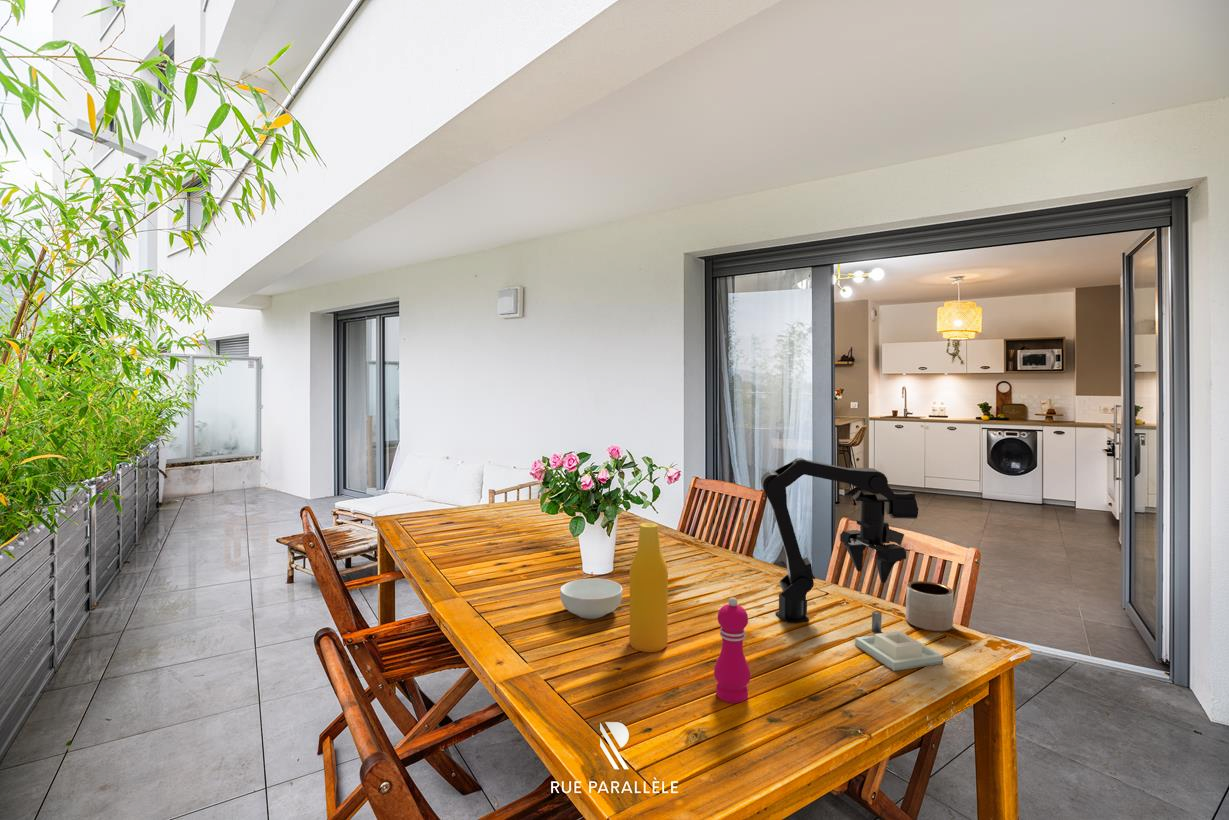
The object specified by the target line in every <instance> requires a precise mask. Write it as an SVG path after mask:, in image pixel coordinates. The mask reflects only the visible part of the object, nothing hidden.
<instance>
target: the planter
mask: <svg viewBox="0 0 1229 820" xmlns="http://www.w3.org/2000/svg"><path fill="white" fill-rule="evenodd" d="M905 599H906V600H905V620H906V621H907V623H908V624H910V625H911V626H913V627H915V628H918V629H919V628H920V629H919V630H924V631H927V632H928V631H929V632H935V633H936V632H937V633H939V632H941V633H943V632H947V631H950V630H951V629H952V628H953V626H954V590H953V588H951V587H949V586H947V585H944V584H942V583H938V582H931V581H927V580H926V581H923V580H916V581H910V582H908V583H906V597H905Z"/></svg>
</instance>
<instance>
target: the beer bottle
mask: <svg viewBox="0 0 1229 820" xmlns="http://www.w3.org/2000/svg"><path fill="white" fill-rule="evenodd" d="M638 532H639V534H638V542H637V548H636V552H635V554H634V556H633V558H632V561H631V564H630V568H629V630H628V631H629V632H628V633H629V634H628V637H629V638H628V639H629V643H630V646H631V647H632V648H633V649H634V650H637V651H639V652H643V653H656V652H659V651H663V649H665V648H667V645H668V641H669V632H668V631H669V630H668V629H669V628H668V626H669V624H668V623H669V622H668V621H669V619H668V617H669V612H668V611H669V610H668V608H669V607H668V606H669V595H668V594H669V590H668V589H669V588H668V586H669V585H668V583H669V571H668V570H669V569H668V564H667V562H666V560H665V558H664V555H663V553H662V551H661V550H662V549H661V544H660V535H659V525H658V524H657V523H655V522H643V523H640V524H639V531H638Z"/></svg>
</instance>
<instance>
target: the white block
mask: <svg viewBox="0 0 1229 820" xmlns="http://www.w3.org/2000/svg"><path fill="white" fill-rule="evenodd" d="M874 635H875V646H874V647H876V648H878V649H879V650H881V651H882V652H884V653H885V654H887V655H888V656H890V657H892V658H893V659H895V660H901V659H907V658H914V657H921V656H922V644H923V643H922V642H920V641H919V640H916V639H915V638H913V637H911V636H910V635H908V634H906V633H904V632H903V631H901V630H896V631H890V632H879V633H875V634H874Z"/></svg>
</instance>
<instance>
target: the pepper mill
mask: <svg viewBox="0 0 1229 820" xmlns="http://www.w3.org/2000/svg"><path fill="white" fill-rule="evenodd" d="M717 622H718V624H719V626H720V628H719V632H720V633H719V636H720V637H721V639H722V640H721V642H722V644H721V650H720V653H719V656H718V657H717V659H716V662H715V665H714V669H713V677H714V678H715V679H714V680H716V682H717V683H716V686H715V688H716V689H715V690H716V691H715V694H716V697H718V699H720V700H721V701H724V702H727V703H732V704H738V703H743V702H745V701H746V700H748V697H749V688H748V684H749V683H750V681H751V669H750V667H749V663H748V661H747V659H746V657H745V652H744V647H743V645H744V639H746V629H745V628H746V627H747V626H748V624H749V616H748V613H747V611H746V609H745V608H744V607H743V606H741V605H740V604H738V600H737V598H736V597H733V596H731V597H729V599H728V603H727V604H725V605H724V604H723V606H721V607H720V608H719V610H718V613H717Z"/></svg>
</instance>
